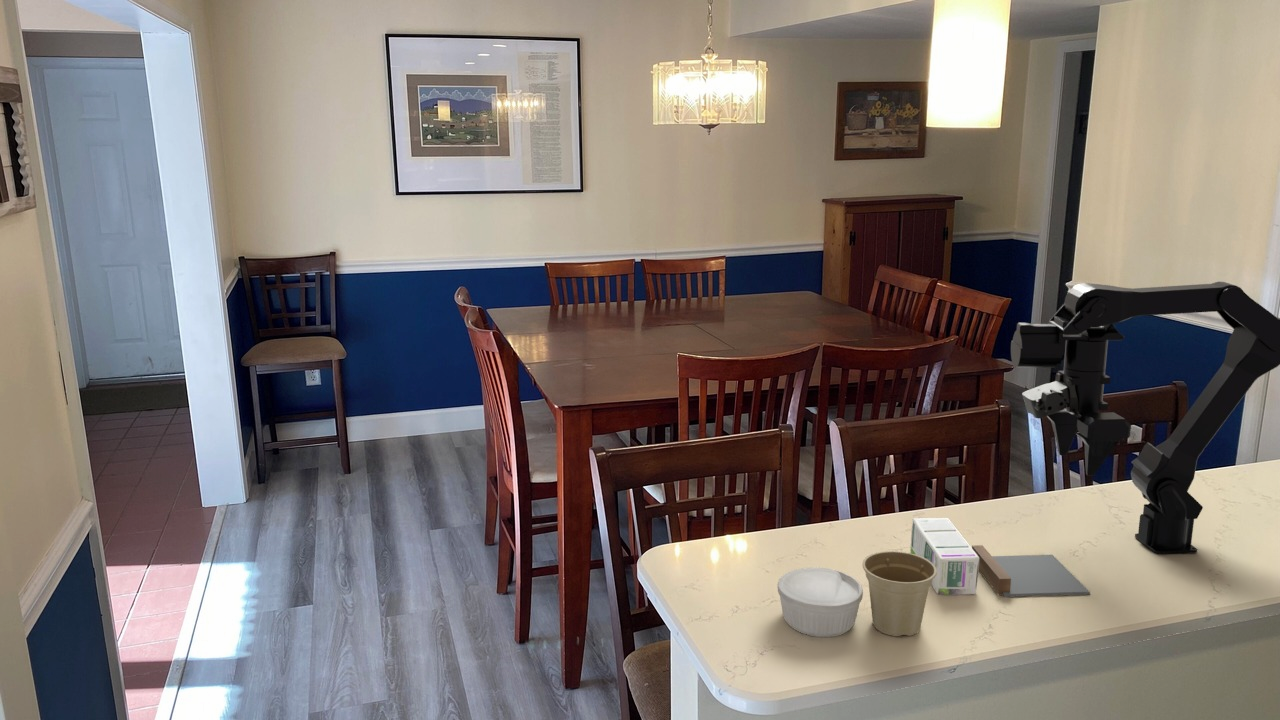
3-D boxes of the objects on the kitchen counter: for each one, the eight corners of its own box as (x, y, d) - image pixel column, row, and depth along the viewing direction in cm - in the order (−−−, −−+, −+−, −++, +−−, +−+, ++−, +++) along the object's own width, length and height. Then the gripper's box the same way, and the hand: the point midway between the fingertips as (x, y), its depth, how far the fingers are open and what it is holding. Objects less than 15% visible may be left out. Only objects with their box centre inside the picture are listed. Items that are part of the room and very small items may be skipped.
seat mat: (1052, 556, 140) (1052, 554, 140) (1089, 594, 128) (1089, 591, 128) (973, 559, 140) (974, 556, 140) (1004, 596, 129) (1004, 594, 128)
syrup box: (911, 517, 142) (938, 558, 128) (949, 516, 142) (980, 558, 128) (909, 551, 144) (935, 595, 129) (947, 550, 143) (978, 595, 129)
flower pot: (935, 613, 125) (937, 555, 123) (932, 649, 116) (935, 586, 114) (864, 604, 128) (866, 547, 126) (857, 638, 119) (859, 577, 117)
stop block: (981, 560, 140) (982, 545, 139) (1009, 594, 129) (1011, 578, 128) (971, 560, 140) (971, 545, 139) (998, 595, 129) (999, 578, 128)
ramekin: (877, 634, 120) (878, 597, 119) (800, 649, 117) (800, 611, 116) (836, 595, 131) (837, 561, 129) (764, 608, 128) (764, 573, 126)
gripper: (1007, 355, 148) (1001, 447, 151) (1058, 384, 129) (1050, 488, 133) (1076, 353, 147) (1068, 445, 151) (1137, 382, 129) (1127, 486, 133)
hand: (1076, 464), depth 142 cm, fingers open, 9 cm apart
